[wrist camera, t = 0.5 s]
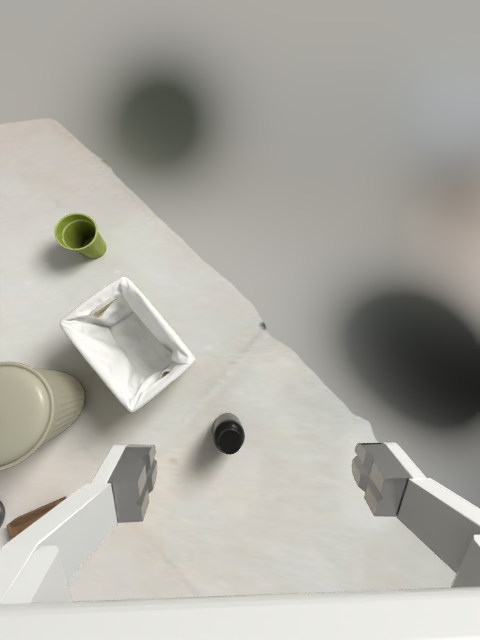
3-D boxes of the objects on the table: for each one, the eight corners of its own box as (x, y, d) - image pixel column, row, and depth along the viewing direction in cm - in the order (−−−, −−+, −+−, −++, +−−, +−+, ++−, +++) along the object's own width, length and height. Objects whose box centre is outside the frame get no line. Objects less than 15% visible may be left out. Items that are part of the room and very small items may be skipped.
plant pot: (101, 270, 63) (83, 256, 55) (68, 255, 63) (45, 238, 55) (119, 241, 65) (104, 223, 57) (88, 226, 65) (68, 206, 57)
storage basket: (202, 361, 62) (197, 360, 47) (150, 404, 59) (128, 418, 44) (145, 292, 64) (123, 271, 49) (92, 330, 61) (52, 320, 46)
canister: (6, 383, 57) (-114, 395, 36) (82, 349, 60) (11, 342, 39) (33, 456, 55) (-79, 512, 34) (110, 417, 57) (50, 447, 37)
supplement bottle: (237, 443, 59) (243, 463, 47) (210, 438, 59) (209, 457, 47) (243, 414, 60) (249, 427, 49) (216, 409, 60) (216, 421, 48)
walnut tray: (78, 544, 52) (71, 553, 50) (28, 568, 51) (18, 578, 48) (65, 496, 54) (58, 502, 51) (16, 518, 52) (6, 525, 50)
